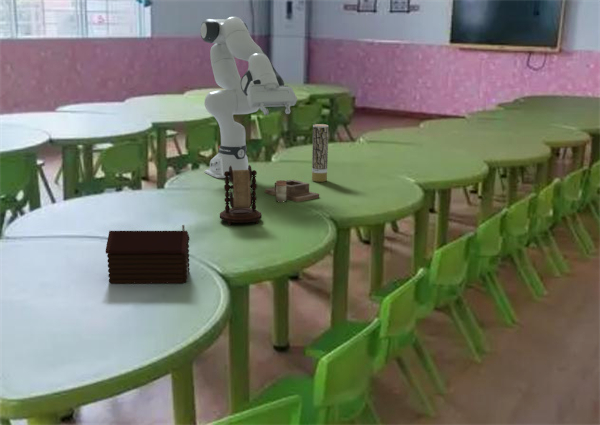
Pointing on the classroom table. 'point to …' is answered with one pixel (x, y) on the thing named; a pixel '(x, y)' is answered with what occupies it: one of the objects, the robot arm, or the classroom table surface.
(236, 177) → the scroll
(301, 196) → the socket board
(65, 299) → the classroom table surface
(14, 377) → the classroom table surface
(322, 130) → the paper tube
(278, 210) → the classroom table surface
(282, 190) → the peg
